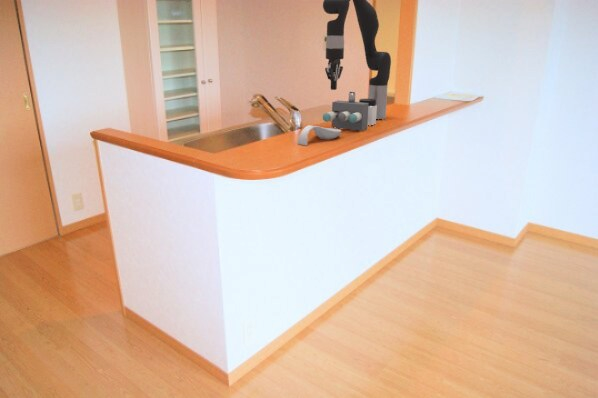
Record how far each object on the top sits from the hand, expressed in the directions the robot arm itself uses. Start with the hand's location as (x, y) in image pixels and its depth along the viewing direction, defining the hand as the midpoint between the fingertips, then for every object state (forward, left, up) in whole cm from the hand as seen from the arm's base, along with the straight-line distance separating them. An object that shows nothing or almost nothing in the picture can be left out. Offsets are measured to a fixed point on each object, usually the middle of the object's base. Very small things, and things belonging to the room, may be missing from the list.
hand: (333, 89), depth 206 cm
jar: (-29, +3, -20) cm, 35 cm away
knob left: (-9, -5, -15) cm, 18 cm away
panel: (-16, 0, -20) cm, 25 cm away
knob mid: (-13, 0, -15) cm, 20 cm away
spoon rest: (+13, +1, -20) cm, 24 cm away
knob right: (-13, +6, -15) cm, 21 cm away
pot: (-18, 0, -8) cm, 19 cm away
